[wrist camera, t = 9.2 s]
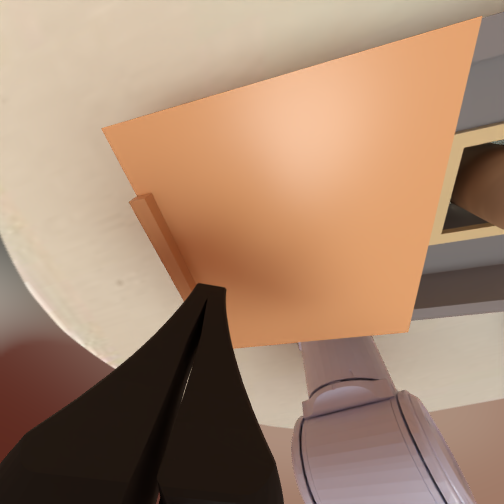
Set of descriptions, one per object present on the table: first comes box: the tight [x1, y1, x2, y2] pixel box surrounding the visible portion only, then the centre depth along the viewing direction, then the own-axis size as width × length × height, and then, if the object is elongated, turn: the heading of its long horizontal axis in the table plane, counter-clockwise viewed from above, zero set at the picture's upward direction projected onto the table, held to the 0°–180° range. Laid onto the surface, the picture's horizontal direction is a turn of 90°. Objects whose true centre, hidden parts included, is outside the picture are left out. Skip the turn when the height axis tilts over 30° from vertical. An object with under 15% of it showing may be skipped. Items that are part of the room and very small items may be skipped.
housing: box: [411, 12, 504, 321], centre depth 14 cm, size 16×14×7 cm
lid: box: [101, 16, 482, 348], centre depth 12 cm, size 16×14×1 cm
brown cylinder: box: [450, 143, 504, 230], centre depth 14 cm, size 4×4×6 cm
